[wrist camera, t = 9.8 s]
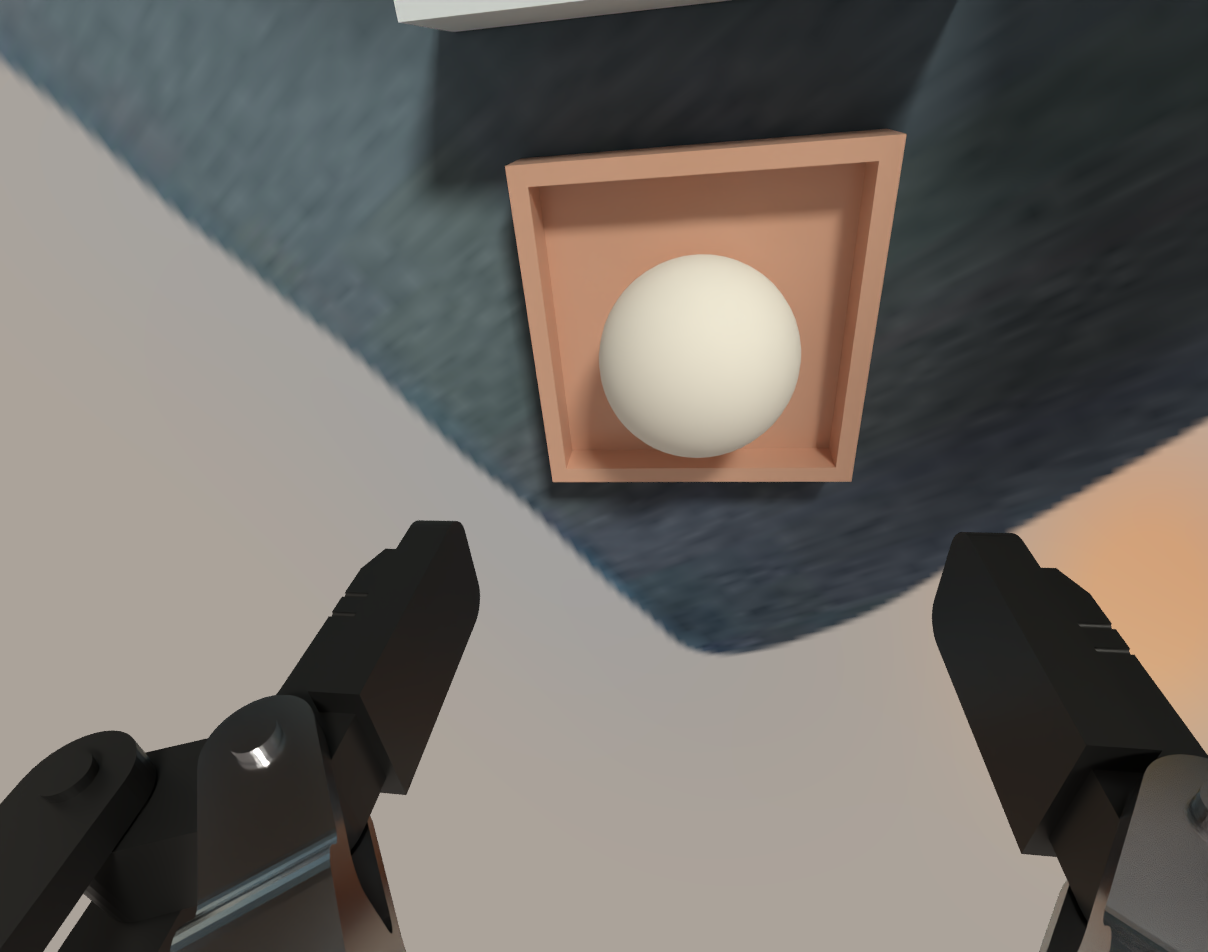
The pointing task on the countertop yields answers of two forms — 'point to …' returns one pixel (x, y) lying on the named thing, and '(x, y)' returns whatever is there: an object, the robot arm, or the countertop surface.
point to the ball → (700, 356)
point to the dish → (719, 227)
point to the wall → (516, 11)
